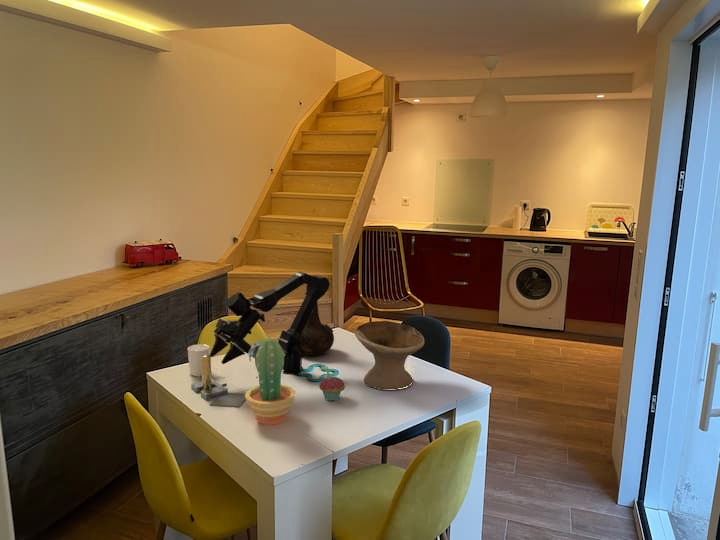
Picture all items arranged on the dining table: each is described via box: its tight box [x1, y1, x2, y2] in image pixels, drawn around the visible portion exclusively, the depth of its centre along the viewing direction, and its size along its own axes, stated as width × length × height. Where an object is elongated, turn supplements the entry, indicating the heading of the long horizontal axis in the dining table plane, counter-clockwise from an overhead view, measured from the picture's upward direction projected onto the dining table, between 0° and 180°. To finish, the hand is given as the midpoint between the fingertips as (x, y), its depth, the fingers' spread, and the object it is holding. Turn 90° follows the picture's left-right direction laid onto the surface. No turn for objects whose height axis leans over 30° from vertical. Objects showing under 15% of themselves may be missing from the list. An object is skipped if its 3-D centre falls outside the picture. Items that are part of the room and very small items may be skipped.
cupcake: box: [318, 364, 346, 401], centre depth 176 cm, size 9×8×12 cm
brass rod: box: [201, 354, 212, 390], centre depth 179 cm, size 3×3×13 cm
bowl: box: [354, 320, 425, 390], centre depth 191 cm, size 26×25×20 cm
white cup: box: [187, 344, 211, 377], centre depth 197 cm, size 8×8×10 cm
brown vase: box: [300, 291, 335, 357], centre depth 222 cm, size 18×18×28 cm
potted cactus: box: [244, 337, 296, 426], centre depth 159 cm, size 15×15×25 cm
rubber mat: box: [209, 392, 246, 408], centre depth 174 cm, size 10×10×1 cm
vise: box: [190, 378, 229, 401], centre depth 181 cm, size 10×12×2 cm
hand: (216, 359), depth 180 cm, fingers open, 9 cm apart
